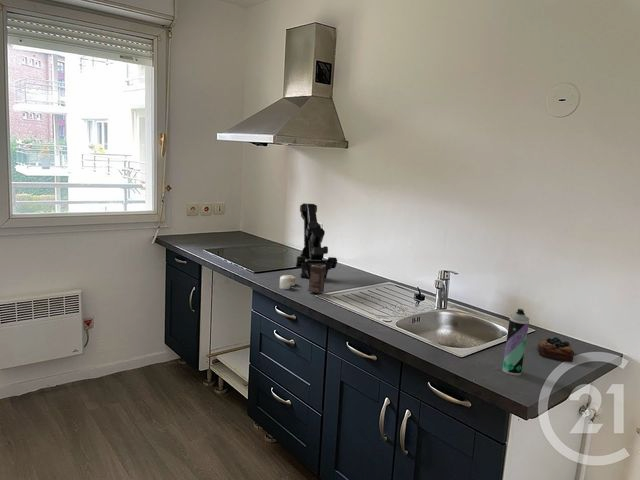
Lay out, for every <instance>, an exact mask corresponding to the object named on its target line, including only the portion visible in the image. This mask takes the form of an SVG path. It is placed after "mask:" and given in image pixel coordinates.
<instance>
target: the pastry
mask: <svg viewBox="0 0 640 480" xmlns="http://www.w3.org/2000/svg"><path fill="white" fill-rule="evenodd" d="M537 350H538V352H539V354H538V355H539V356H540V357H542V358H545V359H550V360H555V361H559V362H560V361H561V362H568V363H569V362H570V363H572V362H573V359H574V355H575V352H574V349H573V348H572V345H571V344H570V343H569V341H567V340H566V341H565V340H562V339H560V338H559V337H558V336H556V337H553V338H551V337H542V338H541V340H540V341H539V342H538V344H537Z"/></svg>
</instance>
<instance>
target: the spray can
mask: <svg viewBox="0 0 640 480" xmlns="http://www.w3.org/2000/svg"><path fill="white" fill-rule="evenodd" d="M509 316H510V317H509V320H508V321H509V322H508V326H507V327H508V328H507V334H506V343H505V349H504V356H503V357H504V358H503V362H502V372H504V373H505V374H507V375H510V376H521V375H522V373H523V372H522V371H523V365H524V359H525V353H526V345H527V338H528V331H529V326H530V317H528V316H527V315H526V313H525V310H524V309H523V308H518V309H517V311H516V312H515V313H513V314H510V315H509Z"/></svg>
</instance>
